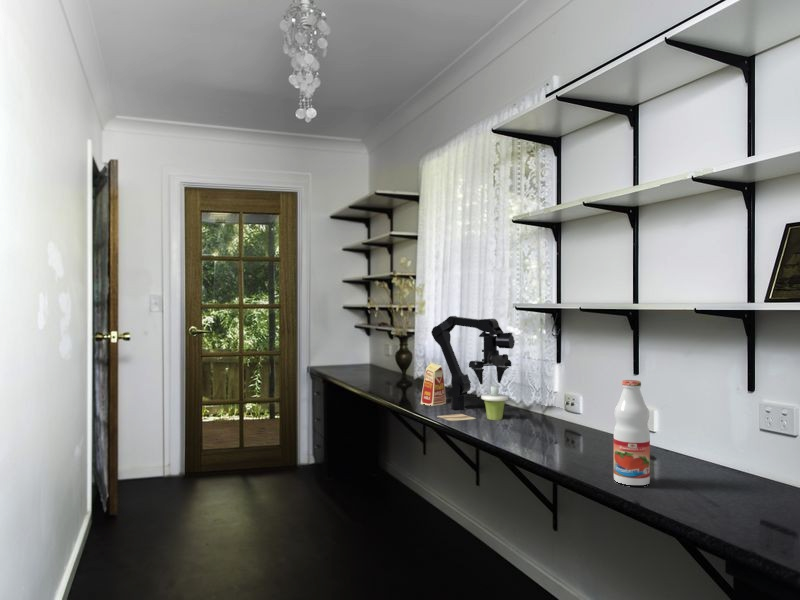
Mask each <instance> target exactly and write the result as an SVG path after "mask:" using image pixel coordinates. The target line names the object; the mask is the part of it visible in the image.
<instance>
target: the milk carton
mask: <svg viewBox="0 0 800 600" xmlns="http://www.w3.org/2000/svg"><path fill="white" fill-rule="evenodd" d="M442 367H443V365H440V364H436V363H435V362H433V361H429V364H428V366H427V367H426V368H425V373H424V379H423V385H422V391H421V398H420V405H423V404H425V406H430V405H431V406H430V407H434V406H435V407H436V406H443V405H445V404H447V397H446V386H445V385H446V384H445V378H444V370H443V368H442Z"/></svg>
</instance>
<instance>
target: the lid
mask: <svg viewBox="0 0 800 600" xmlns="http://www.w3.org/2000/svg"><path fill="white" fill-rule="evenodd" d="M480 400H483V401H484V400H486V401H505V400H506V401H508V400H509V396H508V395H507V394H504V393H503V394H502V393H499V386H498V385H490V393H485V394H481V395H480ZM506 401H505V402H506Z"/></svg>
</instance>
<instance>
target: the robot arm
mask: <svg viewBox="0 0 800 600" xmlns="http://www.w3.org/2000/svg"><path fill="white" fill-rule="evenodd" d="M456 326H459V327H460V326H461V327H467V328H474V329H477V330H479V331H482V332H481V333H480V334H479V335H478V337H479V338H483V349H481V353H483V358H482V359H481V360H470V361H469V363H468V368H470V369H471V370H472V371H473V372H474V374H475V375H476V377H477V380H478V382H479V383H480V385H483V381H484V377H483V376H484V375H483V374H484V370H485V369H484V367H491V366H494V367H495V369H496V378H497V379H496V381H497V383H498V384H500V383H501V382H502V378H503V376H504V374H505V371H506V370H507V369H509V367H512V361H511V360H510V359H509V355H508V354H507V353H502V354H500V351H499V349H511V350H513V349H514V348H515V337H514V335H513V332H504V331H503V330H502V328H501V326H500V324H499V322H498V320H497V319H496V318H481V319H478V318H470V317H469V318H468V317H463V316H462V317H461V316H457V315H450V316H448V317H447V318H446V319H445V320H444V321H442V322H440V323H439V324H438V325H435V326H433V328H432V329H431V336H432V338H433V340H434V341H435V343H437V345H438V346H439V347H440V349H441V351H442V355H443V357H444V360H445V362H446V365H447V368H448V370H449V372H450V376H451V388H450V389H448V391H447V395H448V397H449V398H450V407H448V409H450V410H453V411H463V410H467V408H466V407H465V405H466V403H465V396H467V395H468V392H469V391H470V390H471V386H472V385H471V383H472V382H471V380H470V378H469V374H464V373H463V372H462V370H461V367H460V365H459V361H458V359H457V356H456V354H455V352H454V349H453V346H452V343H451V332H452V331H453V330H454V328H455V327H456ZM498 348H499V349H498Z"/></svg>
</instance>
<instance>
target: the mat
mask: <svg viewBox="0 0 800 600" xmlns="http://www.w3.org/2000/svg"><path fill="white" fill-rule="evenodd" d="M436 417H437V418H441V419H443V420H445V421H448V422H456V421H457V422H458V421H459V422H460V421H468V420H475V419H477V417H472V416H470V415H466V414H463V413H456V414H455V413H452V414H446V415H445V414H444V415H437V416H436Z"/></svg>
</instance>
